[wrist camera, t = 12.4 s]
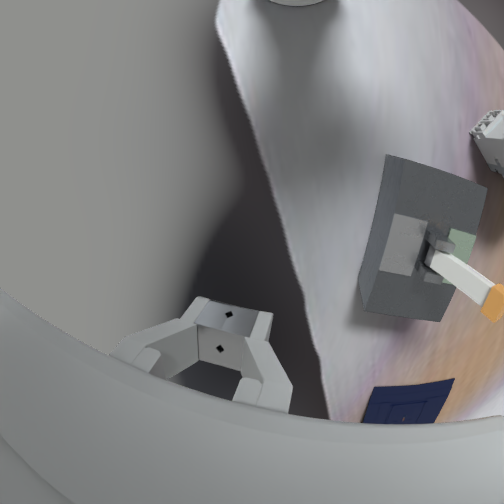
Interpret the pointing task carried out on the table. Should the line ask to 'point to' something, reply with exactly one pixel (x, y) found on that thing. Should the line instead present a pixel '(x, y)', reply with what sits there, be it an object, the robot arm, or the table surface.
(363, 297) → the box
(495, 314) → the lever
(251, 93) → the table surface
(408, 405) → the dark blue panel
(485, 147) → the circuit breaker
